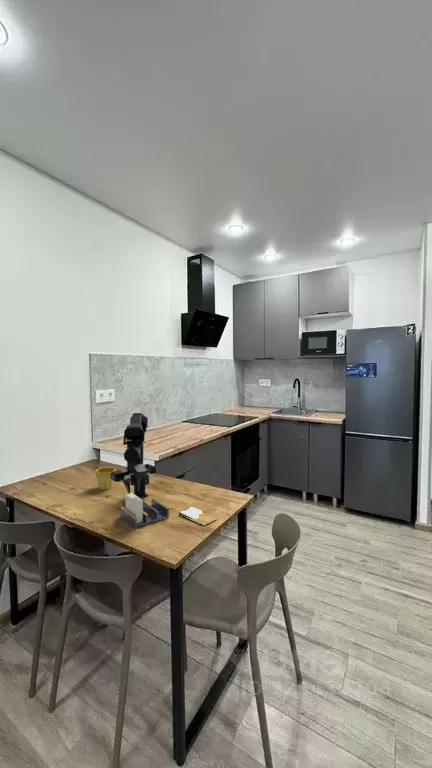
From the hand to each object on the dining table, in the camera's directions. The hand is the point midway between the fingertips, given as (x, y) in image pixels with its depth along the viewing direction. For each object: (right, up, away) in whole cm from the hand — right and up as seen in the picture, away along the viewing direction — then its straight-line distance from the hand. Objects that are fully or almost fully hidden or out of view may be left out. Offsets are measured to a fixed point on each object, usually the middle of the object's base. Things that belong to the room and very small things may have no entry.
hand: (133, 492), depth 135 cm
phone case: (+27, -13, +4) cm, 30 cm away
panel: (0, -11, 0) cm, 11 cm away
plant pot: (-25, -11, +38) cm, 47 cm away
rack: (+4, -12, +4) cm, 13 cm away
